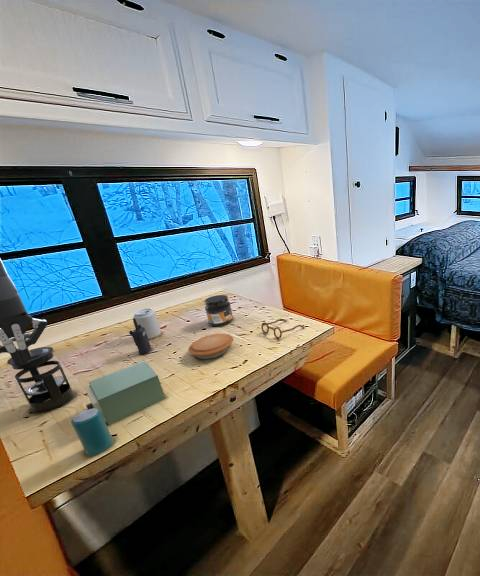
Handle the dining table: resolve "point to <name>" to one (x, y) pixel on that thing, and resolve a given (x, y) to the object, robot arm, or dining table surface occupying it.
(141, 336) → the two-way radio
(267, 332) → the glasses
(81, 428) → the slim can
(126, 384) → the cabinet
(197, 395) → the dining table surface
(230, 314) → the supplement container
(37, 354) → the french press
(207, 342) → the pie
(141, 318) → the can
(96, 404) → the drawer
